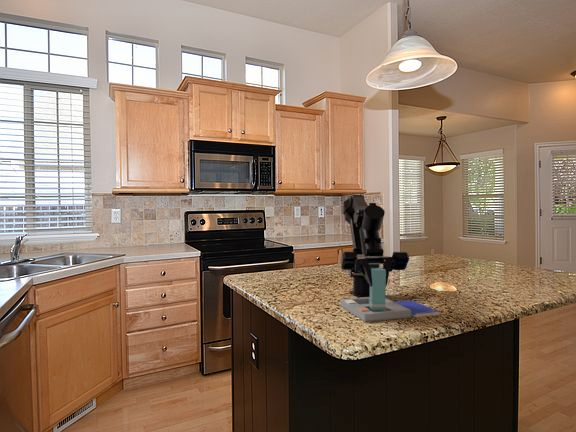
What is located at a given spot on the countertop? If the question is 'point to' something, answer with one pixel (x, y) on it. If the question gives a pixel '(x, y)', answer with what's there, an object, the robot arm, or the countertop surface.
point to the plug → (378, 289)
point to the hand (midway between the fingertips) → (378, 285)
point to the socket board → (366, 314)
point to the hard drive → (418, 309)
